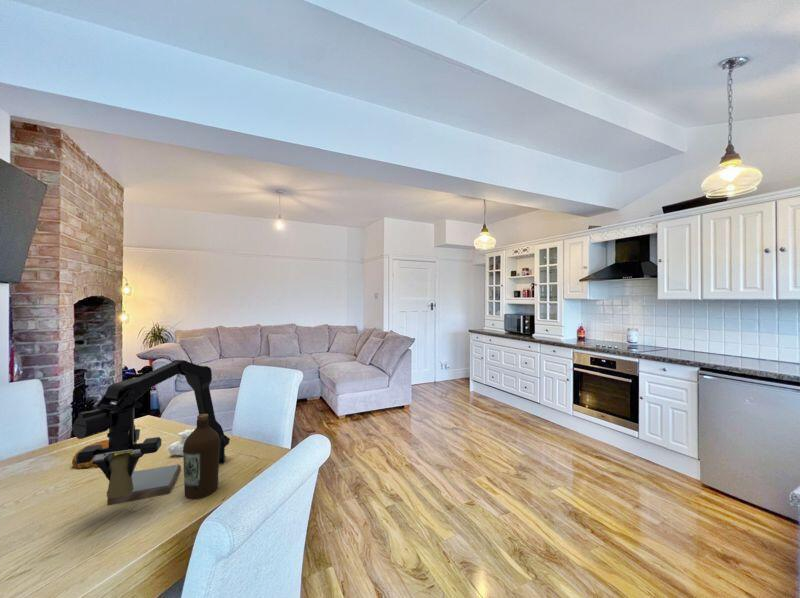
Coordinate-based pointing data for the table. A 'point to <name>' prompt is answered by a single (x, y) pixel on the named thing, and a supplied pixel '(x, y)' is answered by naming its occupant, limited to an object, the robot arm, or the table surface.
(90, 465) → the croissant
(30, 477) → the table surface
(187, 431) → the bust
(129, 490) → the brown rounded upright piece
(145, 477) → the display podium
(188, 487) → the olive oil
